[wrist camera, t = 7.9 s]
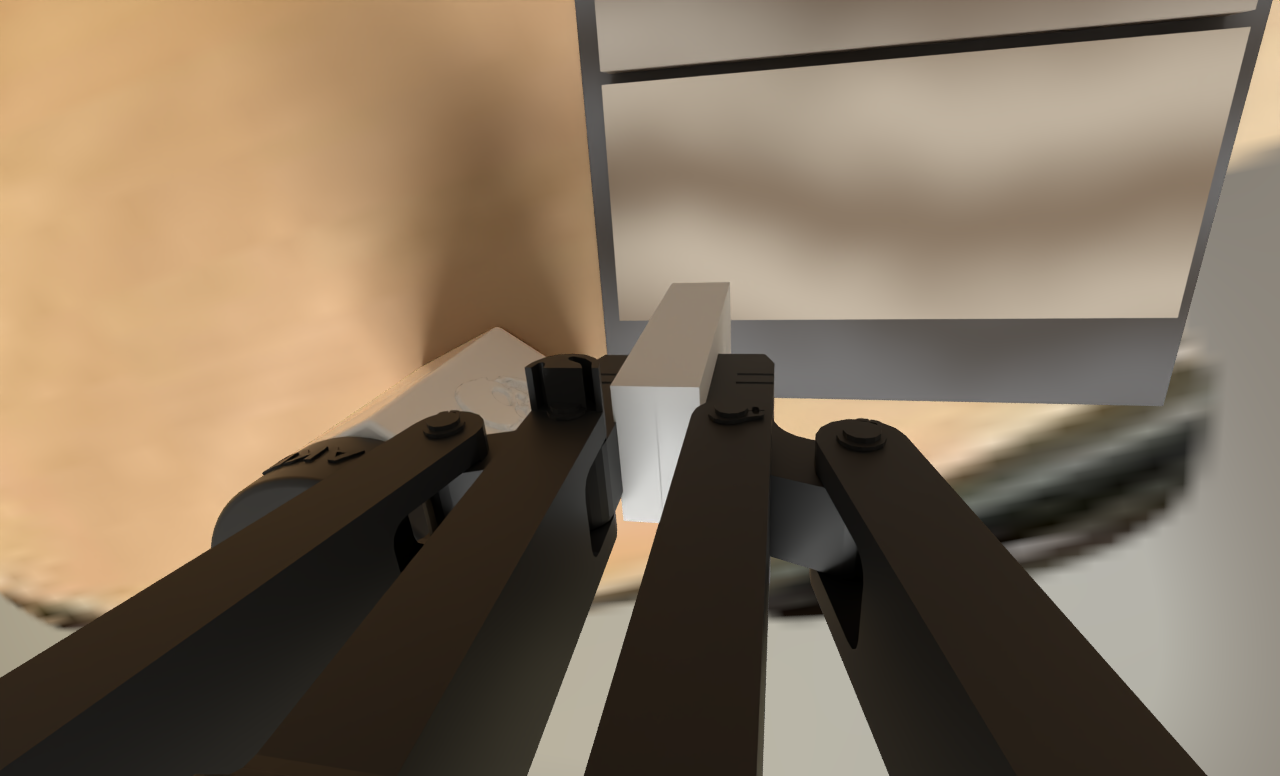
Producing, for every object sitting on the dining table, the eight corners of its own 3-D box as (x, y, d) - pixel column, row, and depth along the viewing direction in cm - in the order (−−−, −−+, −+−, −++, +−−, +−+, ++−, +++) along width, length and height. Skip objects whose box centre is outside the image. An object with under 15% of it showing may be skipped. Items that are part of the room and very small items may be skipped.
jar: (636, 406, 27) (535, 602, 16) (552, 532, 30) (423, 761, 19) (456, 291, 26) (228, 411, 16) (392, 431, 30) (170, 608, 19)
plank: (610, 87, 22) (601, 84, 21) (1223, 32, 18) (1250, 27, 17) (626, 312, 25) (619, 320, 24) (1158, 308, 21) (1177, 317, 20)
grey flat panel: (544, -353, 18) (526, -389, 17) (1421, -575, 14) (1486, -646, 12) (612, 392, 27) (603, 405, 25) (1160, 403, 22) (1182, 420, 21)
